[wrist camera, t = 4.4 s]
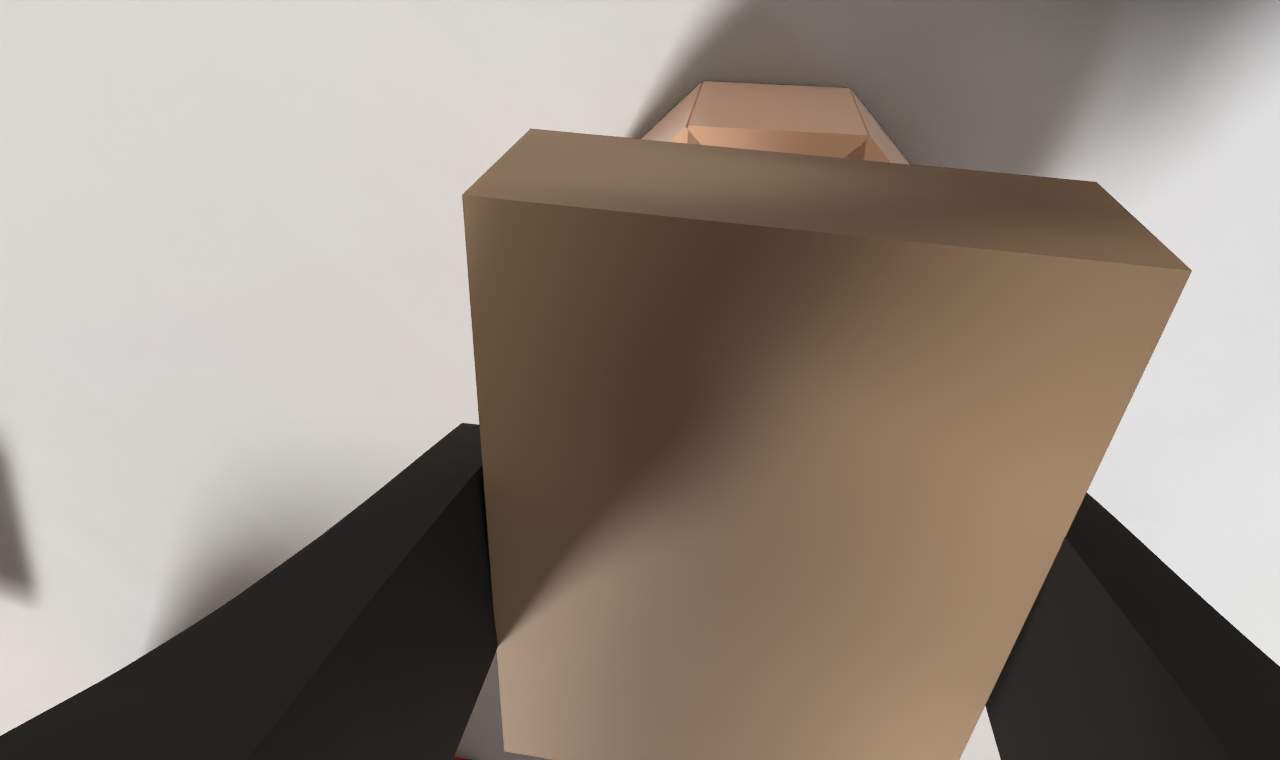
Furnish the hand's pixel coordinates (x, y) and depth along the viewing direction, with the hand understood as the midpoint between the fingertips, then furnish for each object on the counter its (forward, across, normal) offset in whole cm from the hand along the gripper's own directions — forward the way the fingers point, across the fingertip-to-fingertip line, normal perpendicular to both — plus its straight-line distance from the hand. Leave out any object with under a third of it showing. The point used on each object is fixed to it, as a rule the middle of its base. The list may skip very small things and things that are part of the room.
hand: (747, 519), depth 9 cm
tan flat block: (+1, 0, 0) cm, 1 cm away
